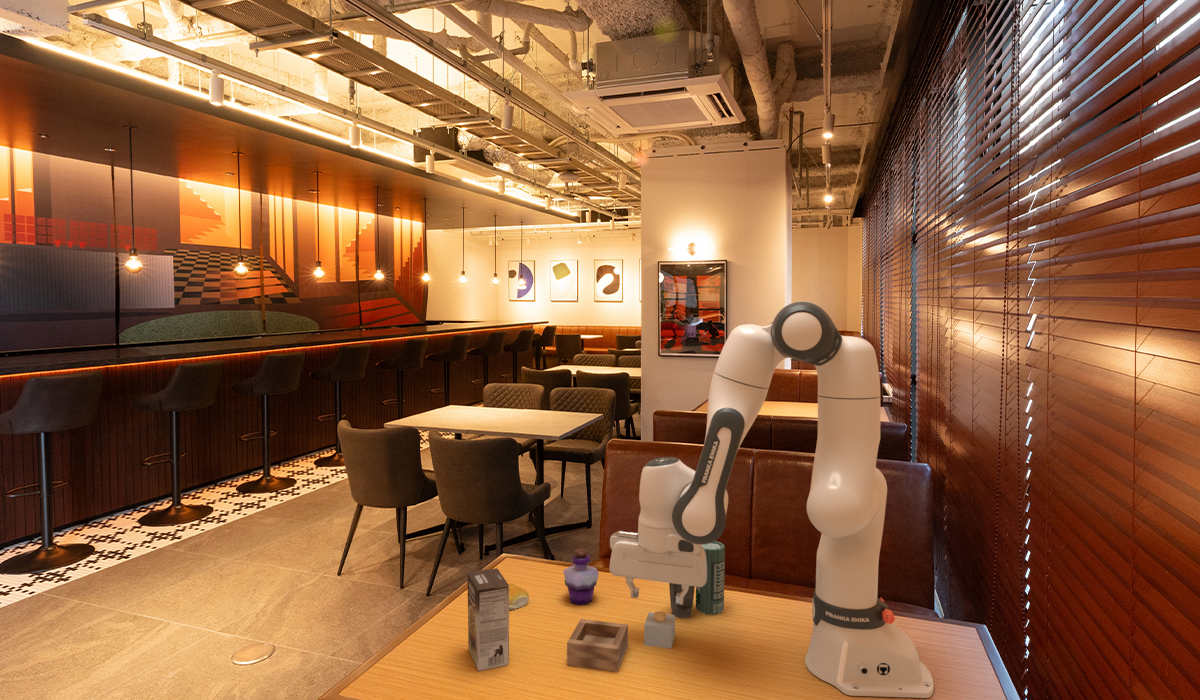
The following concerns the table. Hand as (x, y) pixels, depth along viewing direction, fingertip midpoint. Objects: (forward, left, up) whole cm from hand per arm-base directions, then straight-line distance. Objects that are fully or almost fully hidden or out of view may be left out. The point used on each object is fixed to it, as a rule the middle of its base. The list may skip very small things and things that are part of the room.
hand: (656, 600), depth 137 cm
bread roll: (+36, -9, -9) cm, 38 cm away
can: (-10, -17, -9) cm, 21 cm away
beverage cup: (-4, -13, -9) cm, 16 cm away
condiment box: (+10, +9, -8) cm, 16 cm away
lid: (-1, 0, -9) cm, 9 cm away
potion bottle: (+20, -14, -9) cm, 26 cm away
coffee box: (+31, +15, -9) cm, 36 cm away
